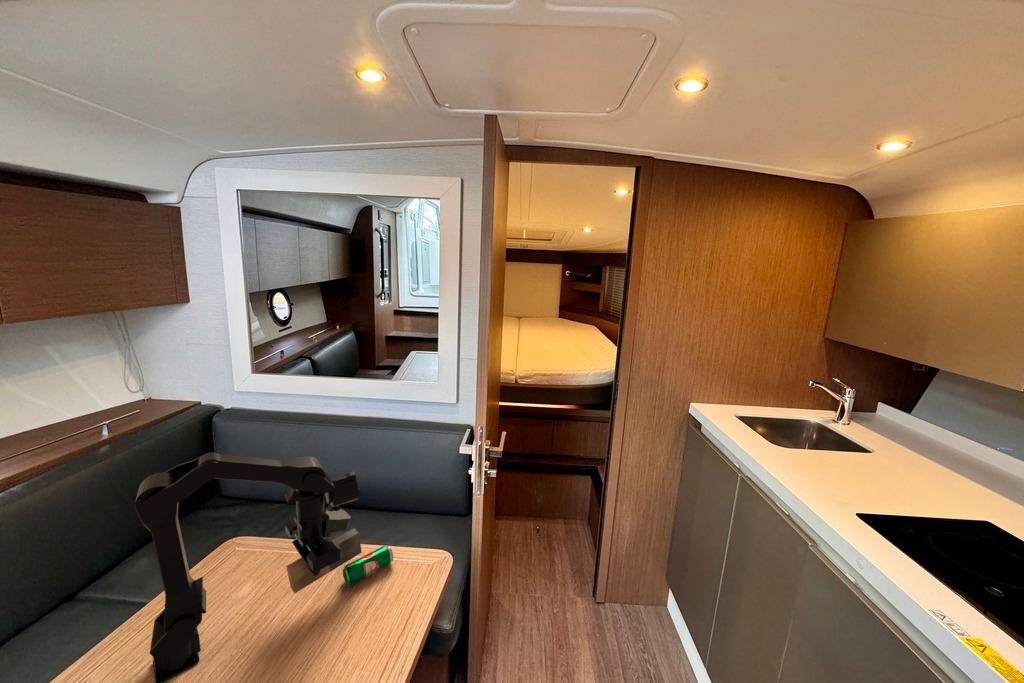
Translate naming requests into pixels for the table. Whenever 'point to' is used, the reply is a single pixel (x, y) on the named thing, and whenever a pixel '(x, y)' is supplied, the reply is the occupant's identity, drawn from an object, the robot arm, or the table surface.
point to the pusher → (304, 577)
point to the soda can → (367, 565)
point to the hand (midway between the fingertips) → (314, 571)
